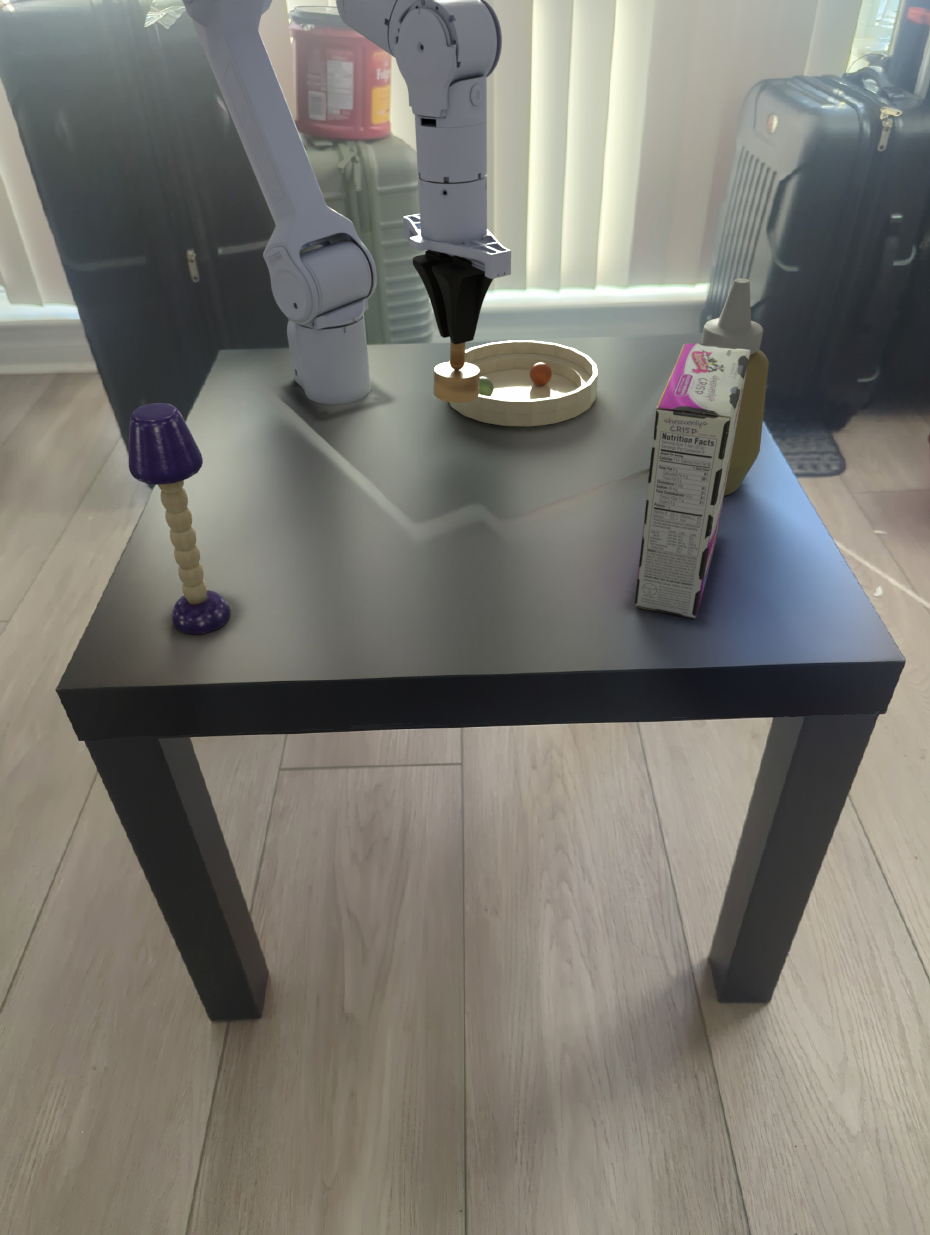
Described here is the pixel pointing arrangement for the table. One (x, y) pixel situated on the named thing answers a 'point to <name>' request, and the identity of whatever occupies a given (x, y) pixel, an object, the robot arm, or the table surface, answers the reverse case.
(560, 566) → the table surface
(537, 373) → the orange bead
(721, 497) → the candy bar box
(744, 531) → the table surface
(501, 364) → the bowl
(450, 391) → the wooden knob stamp
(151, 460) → the toy lamp
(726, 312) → the squeeze bottle
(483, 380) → the green bead
